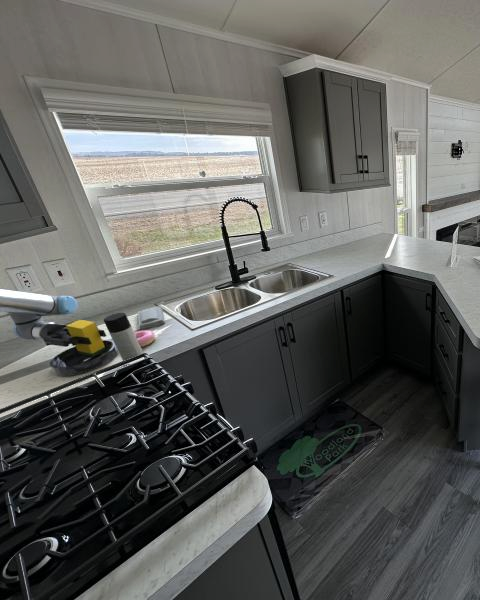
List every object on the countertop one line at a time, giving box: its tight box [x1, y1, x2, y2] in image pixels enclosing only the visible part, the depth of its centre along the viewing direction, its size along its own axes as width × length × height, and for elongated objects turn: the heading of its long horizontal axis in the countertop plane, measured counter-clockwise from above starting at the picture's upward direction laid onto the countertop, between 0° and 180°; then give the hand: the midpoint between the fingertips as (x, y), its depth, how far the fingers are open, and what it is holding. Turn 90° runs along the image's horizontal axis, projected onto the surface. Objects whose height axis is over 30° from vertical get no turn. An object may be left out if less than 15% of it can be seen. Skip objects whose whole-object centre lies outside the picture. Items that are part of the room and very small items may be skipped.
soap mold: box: [137, 305, 166, 331], centre depth 160 cm, size 10×20×4 cm, turn 37°
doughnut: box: [134, 329, 156, 348], centre depth 139 cm, size 11×11×4 cm
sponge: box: [66, 319, 106, 357], centre depth 129 cm, size 7×5×13 cm
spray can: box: [103, 312, 144, 362], centre depth 124 cm, size 7×7×20 cm
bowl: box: [49, 339, 119, 377], centre depth 128 cm, size 19×19×4 cm
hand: (96, 337), depth 127 cm, fingers closed on sponge, 5 cm apart
